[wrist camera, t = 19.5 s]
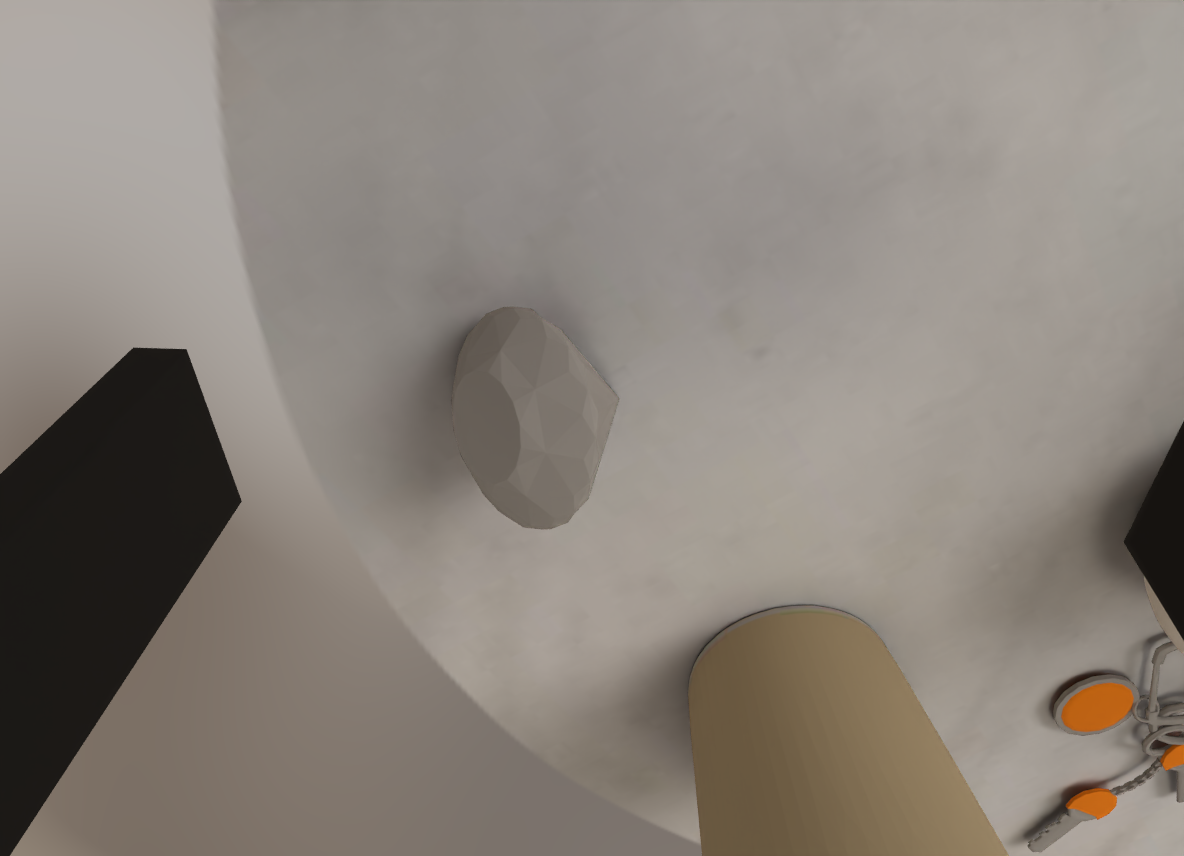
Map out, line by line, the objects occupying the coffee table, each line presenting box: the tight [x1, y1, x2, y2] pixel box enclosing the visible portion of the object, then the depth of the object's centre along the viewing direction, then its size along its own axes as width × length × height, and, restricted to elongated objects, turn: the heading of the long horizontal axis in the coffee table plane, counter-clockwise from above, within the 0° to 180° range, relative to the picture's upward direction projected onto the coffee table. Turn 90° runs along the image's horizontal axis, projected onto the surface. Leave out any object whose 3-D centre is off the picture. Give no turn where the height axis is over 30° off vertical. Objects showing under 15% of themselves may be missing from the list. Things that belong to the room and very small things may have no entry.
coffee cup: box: [688, 605, 1009, 856], centre depth 26 cm, size 9×9×12 cm
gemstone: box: [451, 307, 619, 529], centre depth 23 cm, size 6×6×5 cm
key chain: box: [1028, 641, 1184, 852], centre depth 33 cm, size 13×7×1 cm, turn 5°
